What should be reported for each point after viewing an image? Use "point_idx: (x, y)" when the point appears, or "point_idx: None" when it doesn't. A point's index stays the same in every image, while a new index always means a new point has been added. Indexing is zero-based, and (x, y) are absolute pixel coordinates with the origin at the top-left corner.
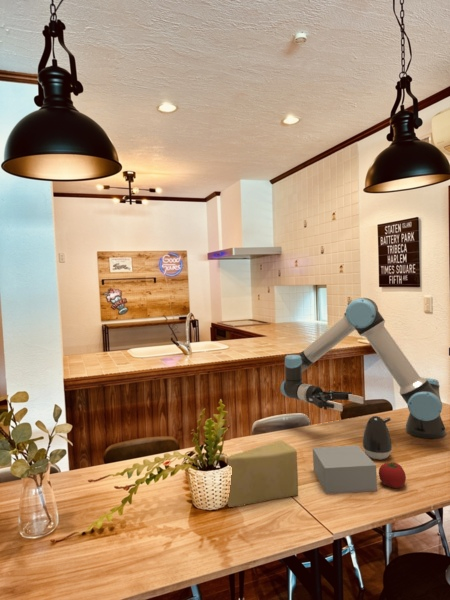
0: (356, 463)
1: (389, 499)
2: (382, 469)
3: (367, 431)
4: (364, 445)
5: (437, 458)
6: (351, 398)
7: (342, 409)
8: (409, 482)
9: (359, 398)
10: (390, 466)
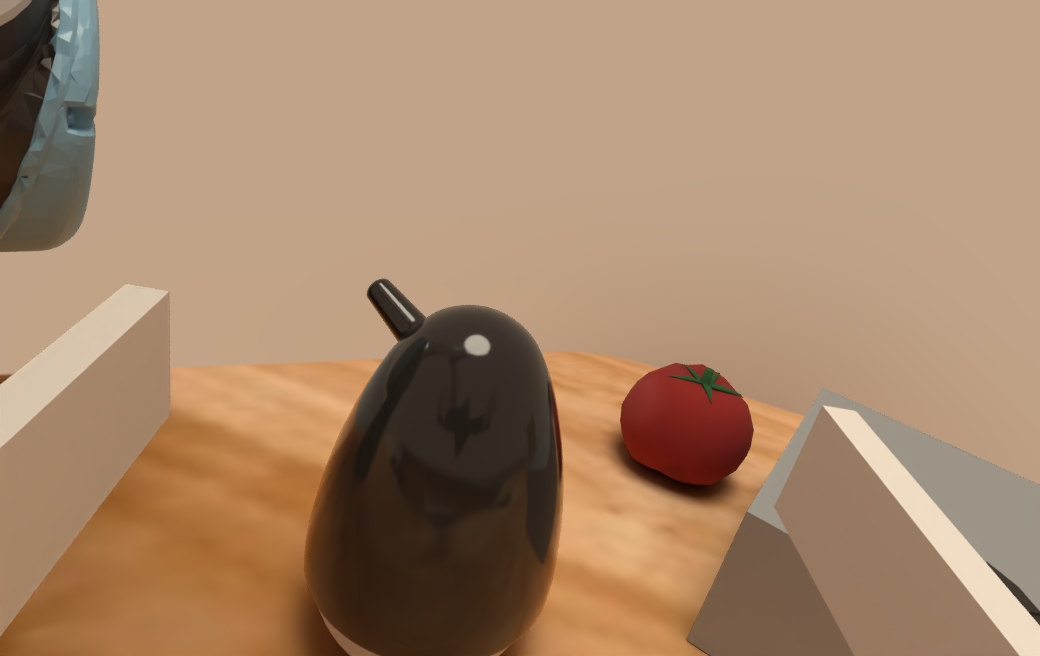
0: (913, 443)
1: (771, 447)
2: (749, 416)
3: (560, 467)
4: (545, 595)
5: (219, 384)
6: (1, 554)
7: (784, 487)
8: (589, 426)
9: (136, 358)
10: (716, 385)
